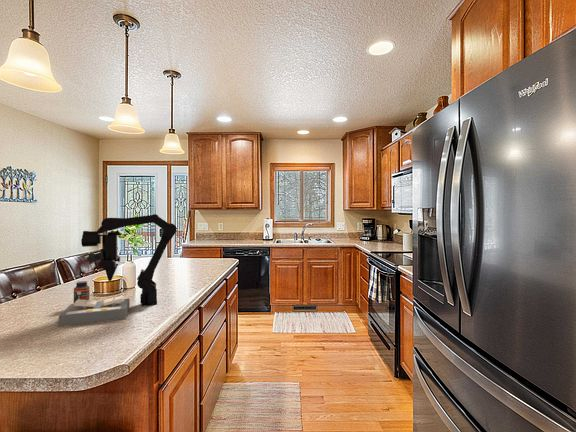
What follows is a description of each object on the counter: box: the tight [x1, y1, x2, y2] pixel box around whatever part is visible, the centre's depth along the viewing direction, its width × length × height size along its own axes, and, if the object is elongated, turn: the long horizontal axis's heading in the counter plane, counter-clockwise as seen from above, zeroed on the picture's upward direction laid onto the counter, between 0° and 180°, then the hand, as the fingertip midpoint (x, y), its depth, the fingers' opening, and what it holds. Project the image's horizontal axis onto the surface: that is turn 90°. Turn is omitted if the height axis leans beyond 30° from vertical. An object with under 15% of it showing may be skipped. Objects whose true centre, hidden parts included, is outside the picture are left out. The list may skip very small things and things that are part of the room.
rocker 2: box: [103, 294, 125, 306], centre depth 127 cm, size 7×5×1 cm
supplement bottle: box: [73, 280, 91, 304], centre depth 137 cm, size 6×6×11 cm
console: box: [58, 298, 131, 327], centre depth 125 cm, size 22×16×5 cm
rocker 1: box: [73, 299, 98, 307], centre depth 124 cm, size 7×5×1 cm
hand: (109, 280), depth 136 cm, fingers closed
